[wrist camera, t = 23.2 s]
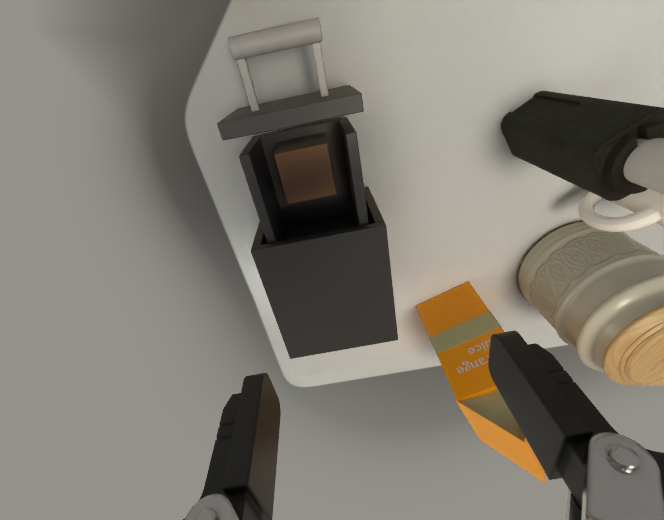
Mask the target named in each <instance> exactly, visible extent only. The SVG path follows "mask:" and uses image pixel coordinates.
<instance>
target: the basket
mask: <svg viewBox="0 0 664 520" xmlns="http://www.w3.org/2000/svg"><path fill="white" fill-rule="evenodd" d="M321 41H322V32H321V26H320V21H319V18H313V19H309V20H304V21H300V22H295V23H291V24H286V25H282V26H277V27H273V28H268V29H264V30H259V31H255V32H250V33H246V34H241V35H237V36H232V37H229V38H228V44H229V48H230V52H231V54H232V57H233V58H234V60H237V62H238V66H239V69H240V73H241V76H242V80H243V83H244V87H245V90H246V94H247V97H248V100H249V104H250V106H249V107H244V108H239V109H237V110H235V111H234V112H233V113H231V114H230V115H228V116H227V117H226V118H224V119H223V120H221V121H220V122H219V123H217V125H218V128H219V131H220V134H221V137H222V139H223V140H228V139H233V138H238V137H243V136H248V135H252V134H257V133H262V132H267V131H272V130H276V129H281V128H286V127H291V126H296V125H301V124H305V123H310V122H315V121H320V120H325V119H329V118H334V117H339V116H344V115H349V114H354V113H358V112H363V111H364V110H363V102H362V94H361V93H360V92H359V91H357V90H356V89H354V88H353V87H351V86H350V85H348V86H343V87H339V88H334V89H329V90H328V86H327V80H326V74H325V69H324V63H323V57H322V51H321V45H320V42H321ZM308 44H312V48H313V54H314V59H315V65H316V71H317V76H318V82H319V87H320V92H315V93H310V94H306V95H301V96H296V97H291V98H287V99H282V100H277V101H272V102H268V103H263V104H258V100H257V96H256V93H255V89H254V85H253V82H252V78H251V74H250V71H249V67H248V64H247V60H246V58H248V57H253V56H257V55H262V54H266V53H271V52H276V51H280V50H285V49H289V48H294V47H298V46H303V45H308ZM324 132H325V134H326V138H327V143H328V148H329V154H330V159H331V164H332V169H333V175H334V180H335V185H336V191H337V195H332V196H327V197H322V198H317V199H312V200H307V201H302V202H297V203H292V204H287V201H286V197H285V194H284V190H283V187H282V183H281V179H280V176H279V172H278V169H277V165H276V161H275V158H274V152H275V149H276V147H277V144H278V142H281V141H286V140H291V139H295V138H300V137H305V136H310V135H314V134H319V133H324ZM239 158H240V161H241V165H242V168H243V171H244V174H245V177H246V180H247V183H248V186H249V189H250V192H251V195H252V198H253V201H254V204H255V207H256V210H257V213H258V216H259V219H260V222H261V225H262V228H263V231H264V234H265V237H266V240H267V243H268V244H269V243H274V242H279V241H285V240H290V239H295V238H300V237H306V236H311V235H316V234H321V233H326V232H332V231H337V230H342V229H347V228H352V227H358V226H363V225H368V224H369V222H368V215H367V207H366V200H365V193H364V185H363V178H362V171H361V163H360V156H359V149H358V141H357V134H356V131H355V130H354V128H353V127H352V125H351V123H350V122H349V120H348V119H347V117H344V118H339V119H334V120H329V121H325V122H320V123H315V124H310V125H305V126H301V127H296V128H291V129H286V130H281V131H276V132H272V133H267V134H262V135H257V136H253V137H252V138H251V140H250V141H249V143H248V144H247V145H246V147H245V148H244V150H243V151H242V153H241V154H240V155H239Z"/></svg>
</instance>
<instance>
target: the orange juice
mask: <svg viewBox="0 0 664 520" xmlns="http://www.w3.org/2000/svg"><path fill="white" fill-rule="evenodd" d="M416 307H417V309H418V312H419V314H420V316H421V318H422V321H423V323H424V325H425V328H426V330H427V332H428V335H429V337H430V340H431V342H432V345H433V347H434V349H435V352H436V354H437V356H438V358H439V360H440V362H441V365H442V367H443V369H444V371H445V374H446V376H447V378H448V381H449V383H450V385H451V388H452V390H453V392H454V394H455V397H456V399H457V401H456V402H457V404H458V405H459V406H460V408H461V410H462V411H463V413H464V415H465V416H466V418H467V419H468V421H469V422H470V424H471V426H472V427H473V429H474V430H475V432H476V434H477V435H478V437H479V438H480V440H482V441H483V442H485V443H486V444H488V445H489V446H491V447H492V448H494V449H495V450H497V451H498V452H500V453H501V454H502V455H504V456H505V457H507V458H508V459H510V460H511V461H513V462H514V463H516V464H517V465H519V466H520V467H522V468H523V469H525V470H526V471H527V472H529V473H530V474H532V475H534V476H535V477H537V478H538V479H539V480H541V481H542V482H544V483H546V482H545V471H544V469H543V468H542V466H541V464H540V462H539V461H538V459H537V457H536V455H535V454H534V452H533V450H532V448H531V447H530V445H529V443H528V441H527V440H526V438H525V436H524V434H523V433H522V431H521V429H520V427H519V426H518V424H517V422H516V420H515V419H514V417H513V415H512V413H511V412H510V410H509V408H508V406H507V405H506V403H505V401H504V399H503V397H502V396H501V394H500V392H499V390H498V389H497V387H496V385H495V383H494V382H493V380H492V378H491V375H490V372H489V367H488V359H489V350H490V340H491V336H492V335H493V334H498V333H503V332H504V331H503V329H502V328H501V326H500V324H499V323H498V322H497V320H496V319H495V317H494V316H493V315H492V313H491V312H490V311H489V310H488V308H487V307H486V305H485V304H484V303H483V301H482V300H481V299H480V297H479V296H478V294H477V293H476V292H475V290H474V289H473V287H472V286H471V285H470V283H469V282H466V283H464V284H462V285H460V286H458V287H455V288H453V289H451V290H449V291H447V292H445V293H442V294H440V295H438V296H436V297H434V298H432V299H430V300H427V301H425V302H423V303H421V304H419V305H417V306H416Z"/></svg>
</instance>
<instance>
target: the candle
mask: <svg viewBox="0 0 664 520" xmlns="http://www.w3.org/2000/svg"><path fill="white" fill-rule="evenodd" d="M501 129H502V132H503V134H504V136H505V138H506V141H507V143H508V145H509V147H510V150H511V152H512V154H513V155H514V156H516V157H518V158H520V159H522V160H525V161H527V162H529V163H531V164H533V165H535V166H537V167H539V168H541V169H543V170H546V171H548V172H550V173H552V174H554V175H556V176H558V177H560V178H562V179H564V180H566V181H569V182H571V183H573V184H575V185H577V186H579V187H581V188H583V189H585V190H587V191H589V192H592V193H594V194H596V195H598V196H600V197H602V198H604V199H606V200H609V201H617V200H621V199H623V198H625V197H627V196H629V195H630V194H637V193H641V192H644V191H646V190H648V189H651V190H653V191H656V192H658V193H661V194H663V195H664V108H661V107H654V106H647V105H640V104H633V103H626V102H618V101H611V100H604V99H597V98H590V97H583V96H576V95H569V94H562V93H555V92H548V91H541V92H538V93H536V94H535V95H534V98H532V99H531V100H529V101H528V102H526V103H525V104H524V105H522V106H521V107H519V108H518V109H516V110H515V111H514V112H509V113H508V114H507V115H506V116H505V117H504V119H503V121H502V124H501ZM647 188H648V189H647Z"/></svg>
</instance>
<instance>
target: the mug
mask: <svg viewBox="0 0 664 520" xmlns="http://www.w3.org/2000/svg"><path fill="white" fill-rule="evenodd" d="M647 189H648V188H647ZM601 199H603V198H602V197H600V196H598V195H596V194H594V193H592V192H588V193H587V194H586V195H585V196H584V197H583V198H582V200H581V201H580V204H579V207H578V211H579V216H580V218H581V219H582V220H583V221H584V222H585V223H586V224H587V225H589V226H591V227H593V228H596V229H599V230H603V231H609V232H624V231H631V230H636V229H639V228H643V227H646V226H648V225H651V224H653V223H658V224H660V225H662V226H664V195H663V194H661V193H658V192H656V191H653V190H651V189H648V190H646V191H644V192H641V193H637V194H630V195H629V196H627V197H625V198H623V199H621V200H617V201H612V202H614V203H616V204H618V205H620V206H622V207H624V208H626V209H628V210H630V211H632V212H635V213H633V214H631V215H628V216H624V217H615V218H612V217H604V216H601V215H599V214H597V213H596V212H595V211H594V206H595V204H596V203H597V202H599V201H600V200H601Z"/></svg>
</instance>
